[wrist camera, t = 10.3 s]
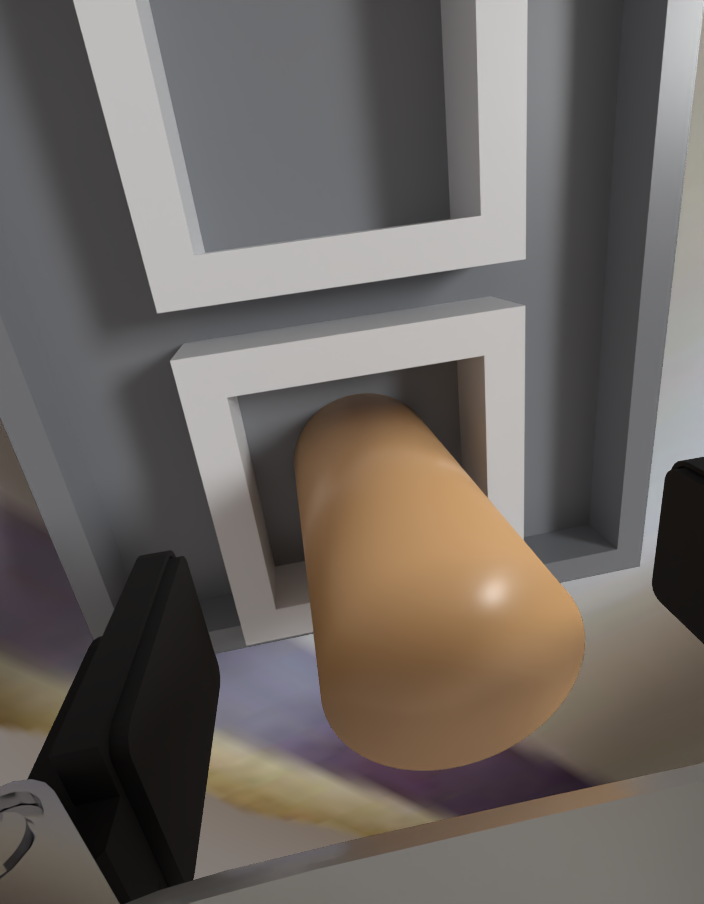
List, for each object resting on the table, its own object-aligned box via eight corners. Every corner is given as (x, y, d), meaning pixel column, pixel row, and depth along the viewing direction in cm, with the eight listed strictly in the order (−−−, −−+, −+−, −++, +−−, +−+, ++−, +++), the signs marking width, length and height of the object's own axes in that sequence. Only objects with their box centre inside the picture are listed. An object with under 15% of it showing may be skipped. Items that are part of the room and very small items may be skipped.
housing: (642, -191, 11) (764, -329, 8) (593, 525, 18) (650, 575, 16) (-152, -136, 10) (-315, -280, 7) (129, 616, 17) (103, 689, 14)
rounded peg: (426, 382, 14) (592, 532, 7) (435, 508, 16) (578, 739, 9) (282, 406, 14) (298, 591, 7) (306, 532, 16) (340, 794, 8)
